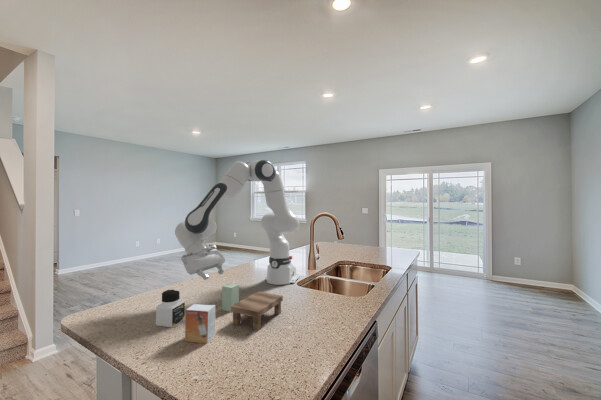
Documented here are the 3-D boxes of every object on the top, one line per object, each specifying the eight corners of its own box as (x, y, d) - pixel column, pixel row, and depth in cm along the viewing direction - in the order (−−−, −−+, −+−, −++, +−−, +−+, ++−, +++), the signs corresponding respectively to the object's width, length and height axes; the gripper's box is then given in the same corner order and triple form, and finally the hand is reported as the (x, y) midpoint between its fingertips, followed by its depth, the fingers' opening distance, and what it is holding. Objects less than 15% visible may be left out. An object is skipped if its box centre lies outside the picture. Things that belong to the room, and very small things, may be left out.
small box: (184, 342, 87) (184, 309, 87) (193, 333, 93) (193, 303, 93) (207, 344, 86) (207, 311, 86) (215, 335, 92) (215, 304, 92)
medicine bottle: (172, 327, 97) (172, 294, 97) (155, 325, 98) (155, 293, 98) (184, 319, 104) (185, 288, 104) (168, 317, 105) (169, 287, 105)
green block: (229, 305, 117) (229, 282, 117) (238, 307, 115) (239, 284, 115) (221, 309, 113) (222, 286, 113) (231, 312, 111) (231, 287, 111)
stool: (258, 307, 115) (258, 291, 115) (282, 312, 110) (282, 295, 110) (230, 325, 99) (231, 306, 99) (258, 331, 94) (258, 312, 94)
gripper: (183, 251, 112) (200, 277, 107) (217, 244, 130) (233, 266, 126) (175, 260, 113) (192, 287, 109) (210, 252, 132) (225, 274, 128)
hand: (214, 276), depth 118 cm, fingers open, 8 cm apart
